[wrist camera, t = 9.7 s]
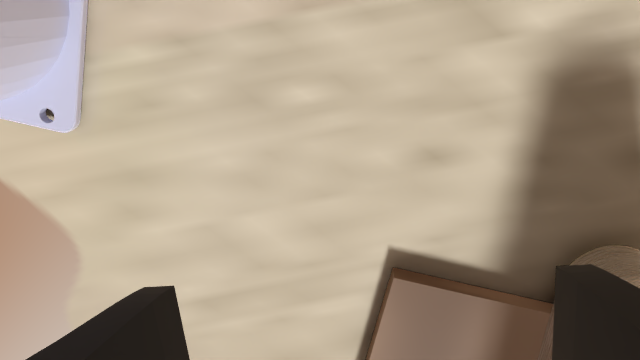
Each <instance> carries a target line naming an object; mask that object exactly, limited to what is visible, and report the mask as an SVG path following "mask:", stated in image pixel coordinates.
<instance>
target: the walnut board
mask: <svg viewBox="0 0 640 360" xmlns="http://www.w3.org/2000/svg"><path fill="white" fill-rule="evenodd" d="M552 306H553V304H552V303H547V302H543V301H538V300H534V299H530V298H525V297H521V296H517V295H512V294H508V293H503V292H499V291H495V290H490V289H486V288H482V287H477V286H473V285H468V284H464V283H460V282H455V281H451V280H447V279H442V278H438V277H433V276H429V275H425V274H420V273H416V272H412V271H407V270H403V269H398V268H394V267H393V268H392V272H391V275H390V278H389V282H388V285H387V288H386V292H385V295H384V299H383V302H382V305H381V309H380V312H379V316H378V319H377V322H376V326H375V329H374V332H373V336H372V339H371V343H370V346H369V349H368V353H367V356H366V359H365V360H538V356H539V353H540V349H541V345H542V342H543V338H544V335H545V331H546V328H547V324H548V321H549V317H550V313H551V310H552Z"/></svg>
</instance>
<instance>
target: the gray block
mask: <svg viewBox="0 0 640 360" xmlns="http://www.w3.org/2000/svg"><path fill="white" fill-rule="evenodd" d="M587 264H592V265H594V266H597V267H599V268H601V269H603V270H605V271H607V272H609V273H611V274H613V275H615V276H617V277H619V278H621V279H623V280H625V281H627V282H629V283H631V284H633V285H634V286H636V287H638V288H640V250H638V249H636V248H633V247H629V246H623V245H609V246H603V247H599V248H596V249H593V250H590V251H588V252H586V253H584V254H583V255H581V256H580V257H578V258H577V259H576V260H574V261H573V262H572V263H571V264H570V265H587ZM554 301H555V299H554ZM553 323H554V303H553V306H552V310H551V313H550V317H549V321H548V324H547V328H546V331H545V335H544V338H543V342H542V345H541V349H540V353H539V356H538V360H552V346H553Z"/></svg>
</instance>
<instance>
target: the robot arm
mask: <svg viewBox="0 0 640 360" xmlns="http://www.w3.org/2000/svg"><path fill="white" fill-rule="evenodd" d="M87 10H88V0H0V119H5V120H9V121H13V122H18V123H22V124H26V125H31V126H35V127H40V128H44V129H48V130H53V131H57V132H63V133H67V132H69V131H72V130H74V129H76V128H77V127H78V125H79V123H80V117H81V102H82V86H83V71H84V56H85V41H86V25H87ZM47 108H48V109H50V110H51V111H52V112H53V113H54V117H55V118H54V121H53V120H51V119H49V118H48V117H47V115H46V109H47ZM26 360H190V359H189V355H188V350H187V345H186V340H185V336H184V331H183V326H182V321H181V317H180V312H179V307H178V302H177V298H176V293H175V288H174V286H161V287H144V288H142V289H140V290H138V291H136V292H134V293H132V294H130V295H129V296H127V297H125V298H123V299H122V300H120V301H119V302H117V303H115V304H114V305H112V306H111V307H109V308H107V309H106V310H104V311H103V312H101V313H100V314H98V315H97V316H95V317H93V318H92V319H90V320H89V321H87V322H86V323H84V324H83V325H81V326H79V327H78V328H76V329H75V330H73V331H72V332H70V333H69V334H67V335H65V336H64V337H62V338H61V339H59V340H58V341H56V342H54V343H53V344H51V345H49V346H48V347H46V348H44V349H43V350H41V351H39V352H38V353H36V354H34V355H33V356H31V357H29V358H28V359H26ZM552 360H640V288H638V287H636V286H634V285H633V284H631V283H629V282H627V281H625V280H623V279H621V278H619V277H617V276H615V275H613V274H611V273H609V272H607V271H605V270H603V269H601V268H599V267H597V266H594V265H592V264H587V265H568V266H556V278H555V301H554V323H553V346H552Z"/></svg>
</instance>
